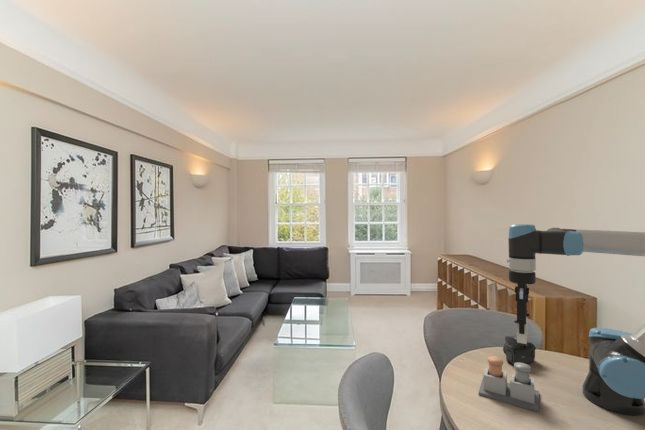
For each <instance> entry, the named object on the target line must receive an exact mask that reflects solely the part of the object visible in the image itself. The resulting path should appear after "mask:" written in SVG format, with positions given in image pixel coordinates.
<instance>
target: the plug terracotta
mask: <svg viewBox="0 0 645 430" xmlns="http://www.w3.org/2000/svg"><path fill="white" fill-rule="evenodd" d="M487 362H488V367H489V375H491V376H495V377H499V378H502V371H503V365H504V359H502V358H500V357H498V356H488V357H487Z"/></svg>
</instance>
